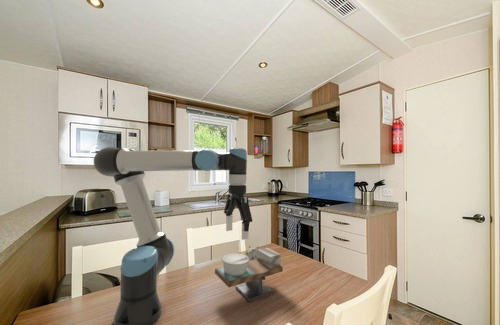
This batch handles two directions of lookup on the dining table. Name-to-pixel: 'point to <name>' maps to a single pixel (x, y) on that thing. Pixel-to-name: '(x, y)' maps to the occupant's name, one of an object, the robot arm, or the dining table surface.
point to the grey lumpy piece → (252, 253)
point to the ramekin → (235, 264)
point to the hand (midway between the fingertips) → (236, 234)
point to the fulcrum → (254, 289)
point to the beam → (254, 268)
